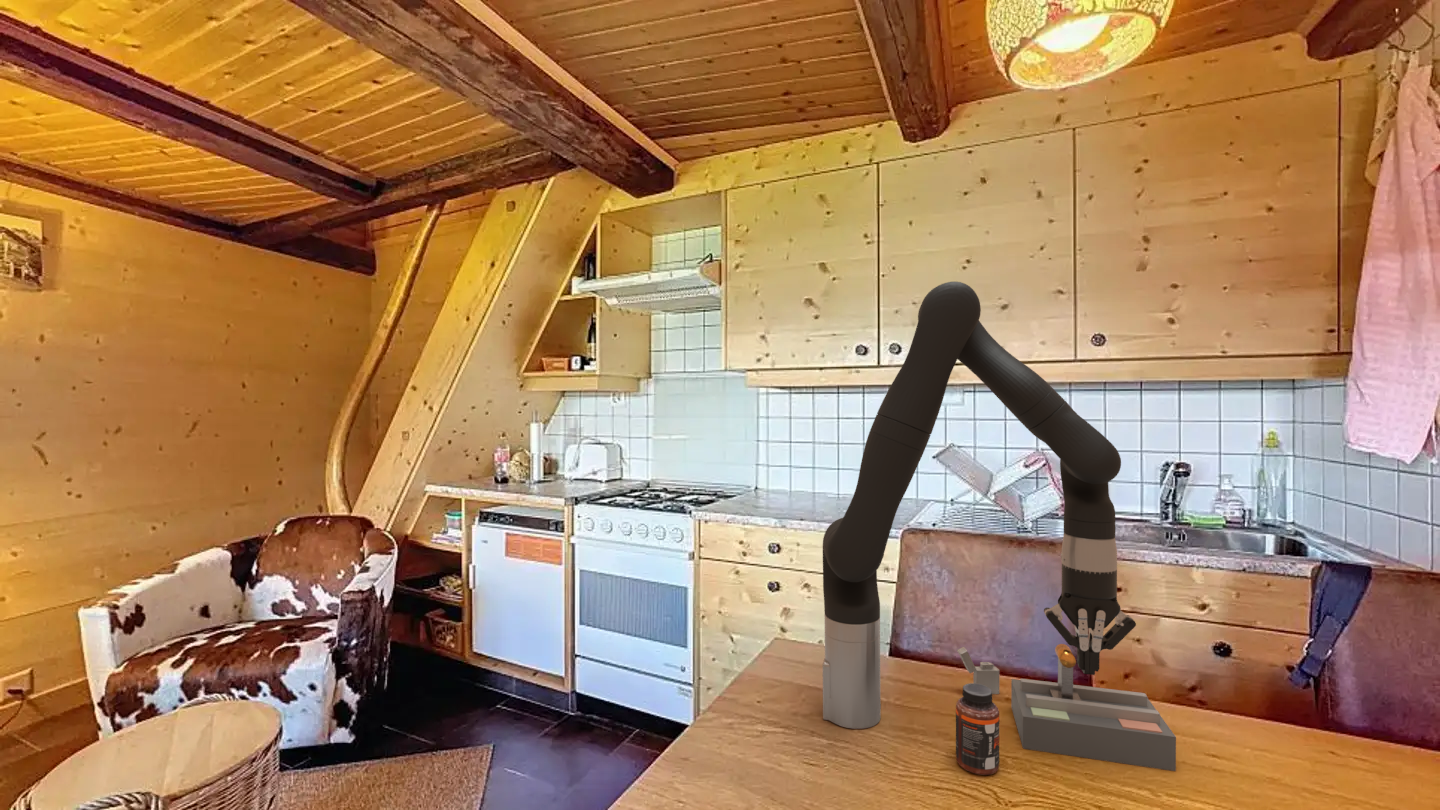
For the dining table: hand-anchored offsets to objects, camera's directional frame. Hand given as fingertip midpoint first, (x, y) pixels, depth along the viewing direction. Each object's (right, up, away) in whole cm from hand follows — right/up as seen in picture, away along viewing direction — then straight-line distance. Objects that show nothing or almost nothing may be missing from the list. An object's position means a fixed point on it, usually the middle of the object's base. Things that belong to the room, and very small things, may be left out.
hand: (1088, 672), depth 99 cm
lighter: (-11, -10, +15) cm, 22 cm away
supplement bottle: (-20, -11, -7) cm, 24 cm away
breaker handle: (-3, -5, +1) cm, 6 cm away
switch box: (0, -10, 0) cm, 10 cm away
